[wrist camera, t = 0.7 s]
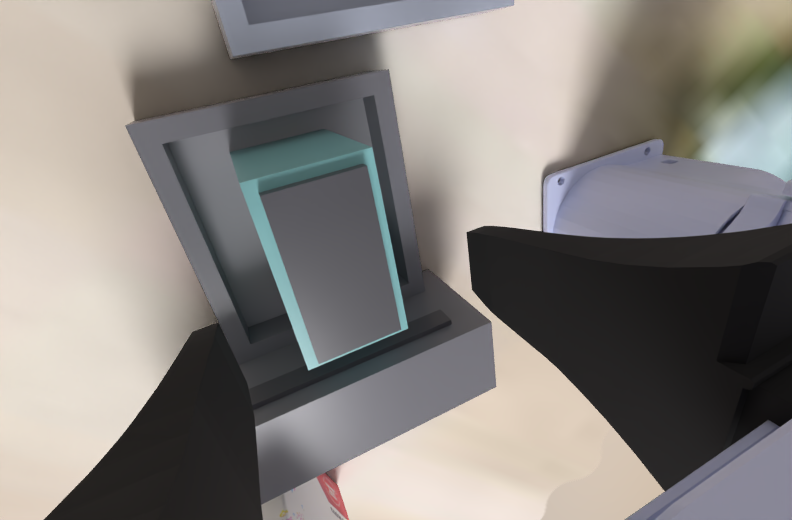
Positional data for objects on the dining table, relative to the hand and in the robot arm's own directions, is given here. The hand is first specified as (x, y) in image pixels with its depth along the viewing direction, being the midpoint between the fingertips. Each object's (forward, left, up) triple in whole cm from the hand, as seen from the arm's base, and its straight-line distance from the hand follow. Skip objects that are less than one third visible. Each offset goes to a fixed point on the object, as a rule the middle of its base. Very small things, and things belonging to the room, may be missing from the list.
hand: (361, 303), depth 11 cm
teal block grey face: (0, 0, -9) cm, 9 cm away
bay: (0, +2, -9) cm, 9 cm away
